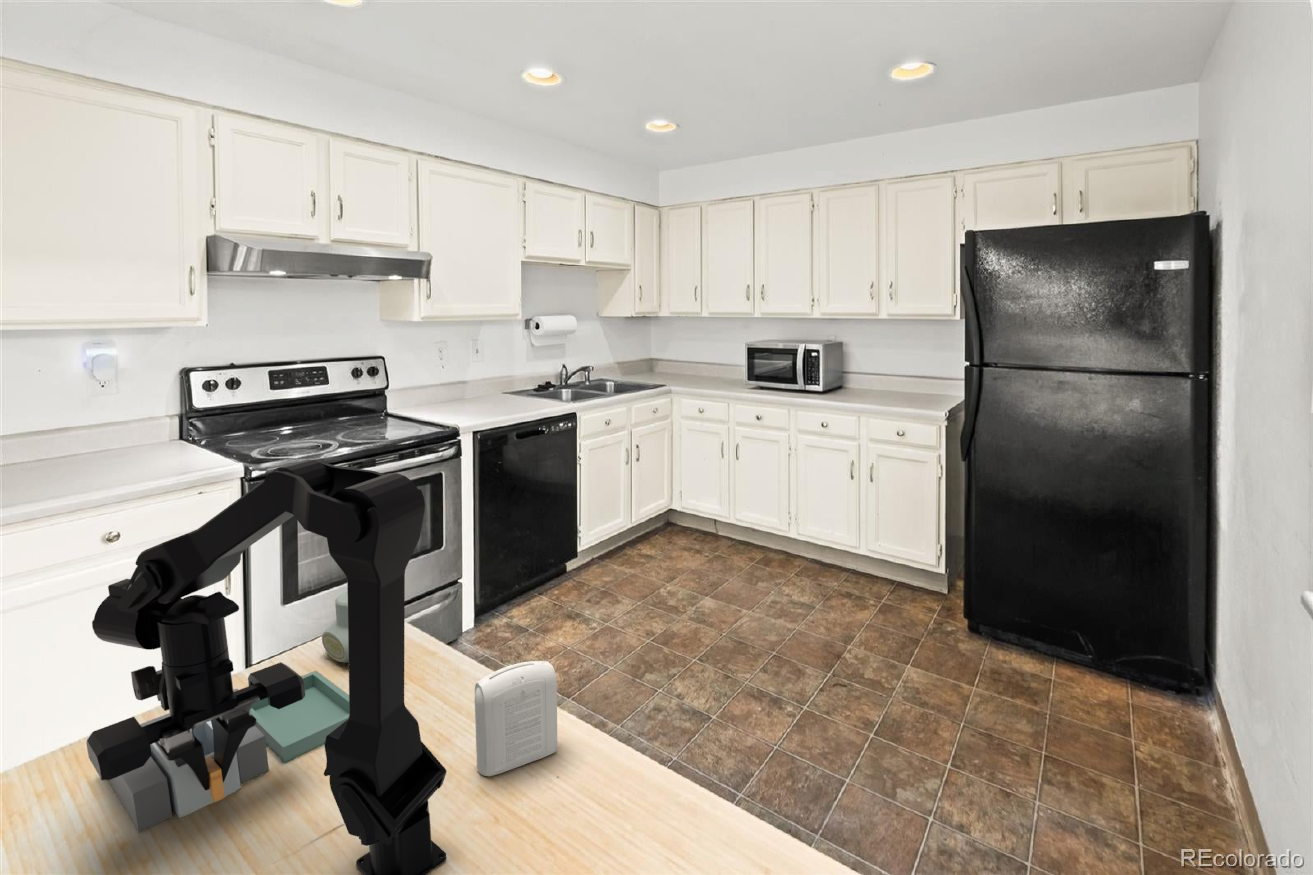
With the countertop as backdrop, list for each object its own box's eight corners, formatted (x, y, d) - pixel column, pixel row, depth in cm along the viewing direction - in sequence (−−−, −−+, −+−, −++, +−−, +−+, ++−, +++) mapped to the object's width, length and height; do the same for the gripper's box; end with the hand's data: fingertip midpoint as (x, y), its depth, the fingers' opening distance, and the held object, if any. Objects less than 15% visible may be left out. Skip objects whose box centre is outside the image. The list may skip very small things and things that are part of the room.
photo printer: (548, 735, 89) (546, 648, 86) (563, 752, 85) (561, 662, 83) (472, 763, 83) (467, 671, 81) (484, 783, 80) (479, 687, 77)
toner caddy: (252, 805, 76) (246, 757, 75) (190, 836, 71) (183, 786, 70) (213, 759, 83) (207, 715, 82) (155, 785, 79) (148, 738, 78)
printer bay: (269, 773, 81) (265, 735, 80) (139, 835, 71) (132, 793, 70) (226, 727, 90) (221, 693, 89) (105, 777, 80) (98, 739, 79)
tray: (368, 725, 90) (367, 708, 90) (285, 766, 82) (283, 747, 82) (317, 685, 100) (316, 670, 99) (238, 718, 92) (236, 701, 91)
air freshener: (317, 653, 109) (312, 595, 107) (366, 634, 116) (361, 579, 114) (353, 676, 103) (348, 614, 101) (402, 654, 109) (398, 596, 107)
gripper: (261, 603, 83) (273, 718, 86) (63, 662, 69) (86, 797, 72) (300, 630, 76) (313, 754, 79) (90, 703, 62) (114, 850, 65)
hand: (213, 785), depth 74 cm, fingers closed on toner caddy
